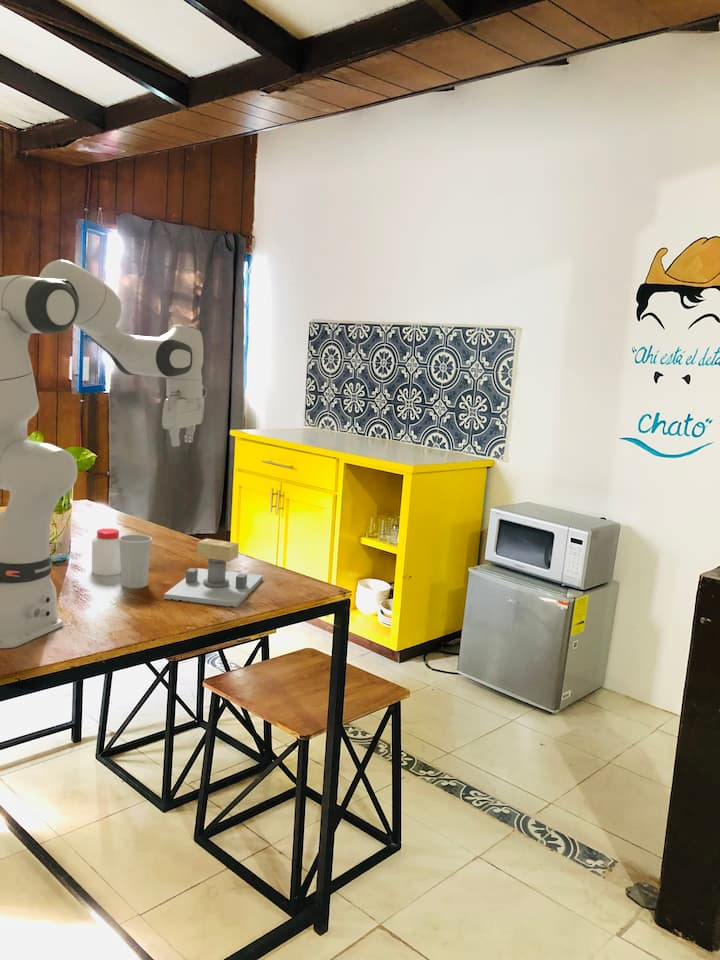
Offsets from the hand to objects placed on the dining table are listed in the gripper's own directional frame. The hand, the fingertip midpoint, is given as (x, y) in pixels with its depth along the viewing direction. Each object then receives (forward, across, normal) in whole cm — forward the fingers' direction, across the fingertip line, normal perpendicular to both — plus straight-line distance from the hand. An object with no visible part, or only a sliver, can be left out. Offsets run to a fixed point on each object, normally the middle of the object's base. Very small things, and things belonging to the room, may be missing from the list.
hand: (182, 444), depth 203 cm
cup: (+35, -11, +7) cm, 38 cm away
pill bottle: (+35, -3, +18) cm, 40 cm away
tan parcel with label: (+28, -7, -13) cm, 31 cm away
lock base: (+35, -7, -13) cm, 38 cm away
